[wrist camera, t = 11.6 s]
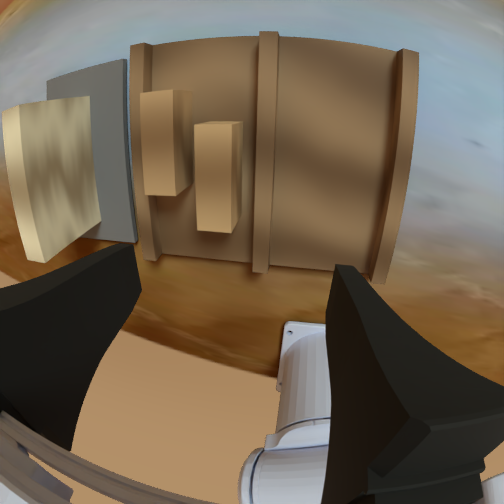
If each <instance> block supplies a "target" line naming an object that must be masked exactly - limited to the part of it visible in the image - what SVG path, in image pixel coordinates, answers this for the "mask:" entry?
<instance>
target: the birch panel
mask: <svg viewBox="0 0 504 504" xmlns="http://www.w3.org/2000/svg"><path fill="white" fill-rule="evenodd" d="M2 123H3V137H4V148H5V156H6V164H7V171H8V178H9V184H10V190H11V195H12V200H13V205H14V210H15V214H16V218H17V223H18V227H19V231H20V235H21V238H22V242H23V245H24V249H25V252H26V256H27V259H28V260H32V261H37V262H42V263H46V262H47V261H48V260H50V259H51V258H52V257H53V256H55V255H56V254H57V253H58V252H60V251H61V250H62V249H64V248H65V247H66V246H68V245H69V244H70V243H72V242H73V241H74V240H76V239H77V238H78V237H80V236H81V235H82V234H84V233H85V232H87V231H88V230H89V229H91V228H92V227H94V226H95V225H96V224H98V223H99V222H101V215H100V209H99V202H98V195H97V188H96V180H95V171H94V162H93V151H92V138H91V120H90V96H84V97H73V98H63V99H55V100H47V101H40V102H33V103H27V104H21V105H18V106H15V107H13V108H10V109H8V110H5V111H3V112H2Z"/></svg>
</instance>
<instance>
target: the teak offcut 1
mask: <svg viewBox="0 0 504 504" xmlns="http://www.w3.org/2000/svg"><path fill="white" fill-rule="evenodd" d="M140 122H141V146H142V163H143V177H144V189H145V195H160V196H177V195H178V194H179V193H180V192H182V191H183V190H184V189H186V188H187V187H188V186H190V185H191V184H192V183H194V182H193V142H192V91H186V90H174V89H172V90H162V91H153V92H145V93H140Z"/></svg>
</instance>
